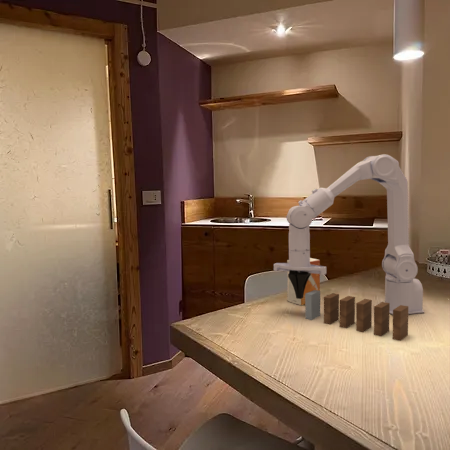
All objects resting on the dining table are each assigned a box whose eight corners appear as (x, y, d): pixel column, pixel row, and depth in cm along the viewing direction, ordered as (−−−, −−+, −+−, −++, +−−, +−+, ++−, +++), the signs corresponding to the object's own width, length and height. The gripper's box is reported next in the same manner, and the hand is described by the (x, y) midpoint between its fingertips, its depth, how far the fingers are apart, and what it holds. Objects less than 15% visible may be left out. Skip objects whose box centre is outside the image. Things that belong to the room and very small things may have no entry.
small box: (301, 305, 128) (300, 262, 127) (286, 301, 133) (286, 259, 132) (320, 301, 133) (320, 259, 131) (306, 296, 138) (305, 256, 136)
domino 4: (389, 330, 106) (389, 303, 105) (381, 336, 102) (381, 307, 102) (381, 329, 107) (382, 301, 106) (373, 334, 104) (374, 306, 103)
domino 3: (371, 326, 109) (371, 299, 108) (363, 332, 105) (363, 304, 105) (364, 325, 110) (364, 298, 109) (356, 330, 107) (356, 303, 106)
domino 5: (407, 334, 103) (408, 306, 102) (400, 340, 99) (400, 311, 99) (400, 333, 104) (400, 305, 103) (392, 339, 101) (392, 309, 100)
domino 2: (354, 323, 112) (354, 297, 111) (346, 328, 108) (346, 301, 108) (348, 321, 113) (348, 295, 112) (339, 326, 110) (339, 300, 109)
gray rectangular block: (320, 315, 119) (320, 290, 118) (311, 320, 115) (311, 294, 114) (314, 314, 120) (314, 289, 119) (305, 318, 116) (305, 293, 116)
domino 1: (338, 319, 115) (338, 294, 114) (329, 324, 111) (329, 298, 111) (332, 318, 116) (332, 293, 115) (323, 323, 113) (323, 297, 112)
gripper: (329, 248, 119) (329, 296, 120) (279, 246, 125) (280, 291, 127) (322, 252, 112) (322, 303, 114) (270, 249, 119) (271, 297, 121)
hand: (299, 297), depth 120 cm, fingers closed
